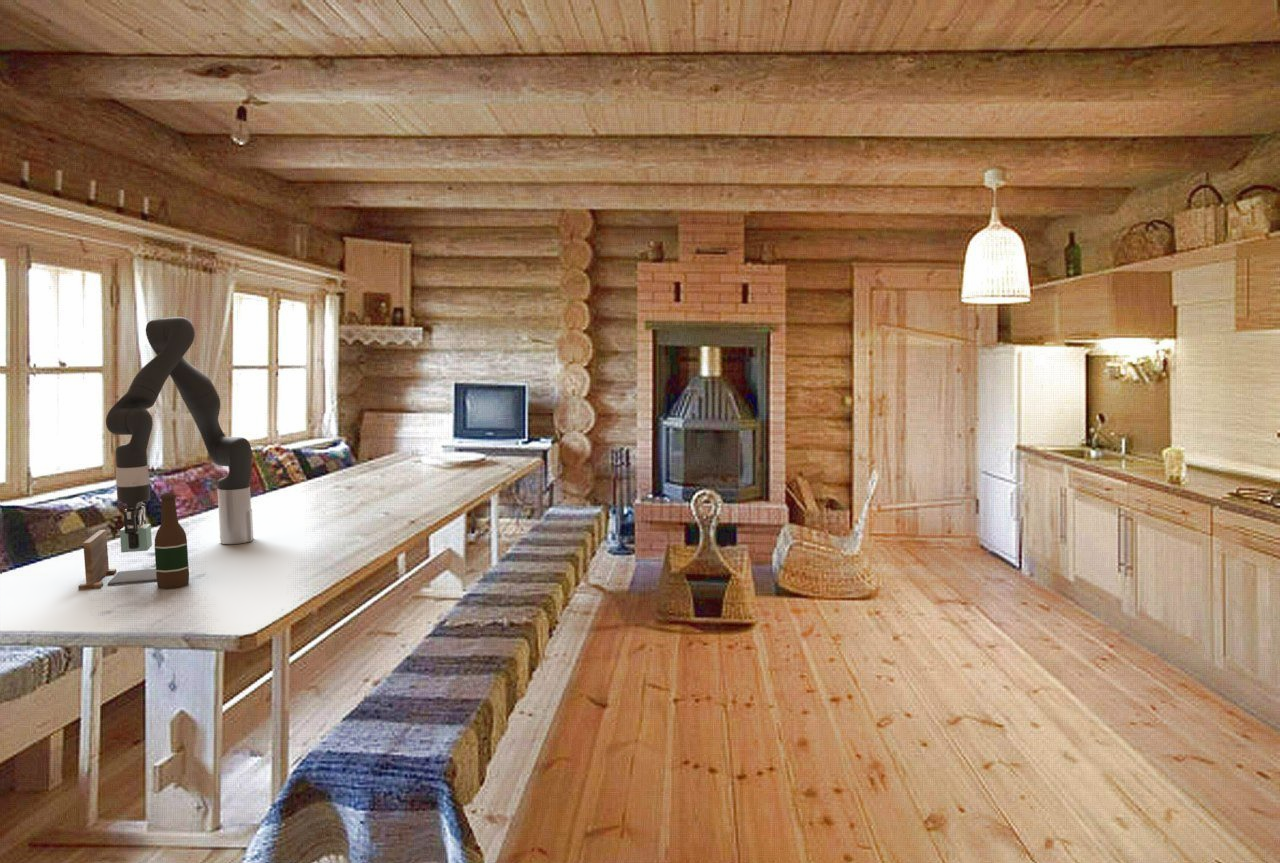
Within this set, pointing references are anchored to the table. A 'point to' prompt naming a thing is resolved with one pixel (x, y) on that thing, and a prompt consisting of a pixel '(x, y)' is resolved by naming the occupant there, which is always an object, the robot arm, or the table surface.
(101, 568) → the wooden footed board
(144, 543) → the letter cube
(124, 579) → the mat
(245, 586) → the table surface
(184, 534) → the beer bottle
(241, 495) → the robot arm
